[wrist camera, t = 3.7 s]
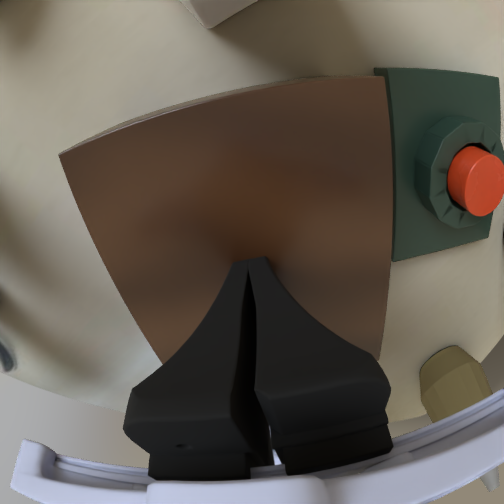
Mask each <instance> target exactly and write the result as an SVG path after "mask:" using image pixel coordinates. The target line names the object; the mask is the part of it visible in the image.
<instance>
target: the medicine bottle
mask: <svg viewBox="0 0 504 504" xmlns="http://www.w3.org/2000/svg"><path fill="white" fill-rule="evenodd" d="M179 1H180V2H181V3H182V4H183V5H184V6H185V7H186V8H187V9H188V10H189V11H190V12H191V13H192V15H193V16H194V17H195V18H196V19H197V20H198V21H199V22H200V23H201V25H202V26H203V27H205V28H209V29H210V28H213V27H215V26H216V25H218V24H219V23H221V22H222V21H224V20H226V19H227V18H229V17H230V16H232V15H234V14H235V13H237V12H239V11H240V10H242V9H244V8H246V7H247V6H249V5H251V4H253V3H254V2H256V1H258V0H179Z"/></svg>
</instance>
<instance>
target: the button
mask: <svg viewBox="0 0 504 504" xmlns="http://www.w3.org/2000/svg"><path fill="white" fill-rule="evenodd" d="M447 184H448V190H449V193H450V195H451V197H452V198H453V199H454V200H455V201H456V202H457V203H458V204H460V205H461V206H462V207H464V208H465V209H466V210H467V211H469V212H470V213H471V214H473V215H475V216H485V215H487V214H489V213H491V212H492V211H493V210H494V209H495V208H496V207H497V206H498V204H499V203H500V201H501V199H502V197H503V194H504V165H503V163H502V162H501V160H500V159H499V158H498V157H496V156H494V155H492V154H490V153H488V152H486V151H484V150H482V149H480V148H478V147H475V146H469V147H466V148H463V149H462V150H460V151H459V152H458V153H457V154H456V156H455V157H454V159H453V160H452V162H451V164H450V167H449V171H448V177H447Z"/></svg>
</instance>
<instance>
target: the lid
mask: <svg viewBox="0 0 504 504" xmlns="http://www.w3.org/2000/svg"><path fill="white" fill-rule="evenodd" d="M59 158H60V161H61V164H62V167H63V169H64V172H65V175H66V178H67V180H68V183H69V185H70V188H71V191H72V193H73V196H74V198H75V201H76V203H77V205H78V208H79V210H80V213H81V215H82V217H83V220H84V222H85V224H86V226H87V229H88V231H89V233H90V235H91V237H92V240H93V242H94V244H95V246H96V248H97V250H98V252H99V254H100V256H101V258H102V260H103V262H104V264H105V266H106V268H107V270H108V272H109V274H110V276H111V278H112V280H113V282H114V284H115V286H116V287H117V289H118V291H119V293H120V295H121V297H122V298H123V300H124V302H125V304H126V306H127V307H128V309H129V311H130V312H131V314H132V316H133V318H134V319H135V321H136V323H137V324H138V326H139V328H140V329H141V331H142V333H143V334H144V336H145V338H146V339H147V341H148V342H149V344H150V346H151V347H152V349H153V350H154V352H155V353H156V355H157V356H158V358H159V359H160V361H161V362H162V364H164V363H165V362H166V361H167V360H169V359H170V358H171V357H172V356H173V355H174V354H175V353H176V352H177V351H178V350H179V348H180V347H181V346H182V345H183V344H184V343H185V342H186V341H187V339H188V338H189V337H190V336H191V335H192V333H193V332H194V331H195V329H196V328H197V327H198V325H199V324H200V323H201V321H202V320H203V318H204V317H205V315H206V314H207V312H208V310H209V309H210V307H211V305H212V304H213V302H214V300H215V298H216V297H217V295H218V293H219V291H220V289H221V287H222V285H223V283H224V281H225V278H226V276H227V274H228V272H229V269H230V267H231V265H232V263H233V262H237V261H242V260H247V259H252V258H257V257H262V256H266V257H267V258H268V260H269V263H270V265H271V267H272V269H273V271H274V272H275V274H276V276H277V277H278V279H279V280H280V281H281V283H282V284H283V285H284V287H285V288H286V289H287V291H288V292H289V293H290V294H291V295H292V296H293V298H294V299H295V300H296V301H297V302H298V303H299V304H300V305H301V306H302V307H303V308H304V309H305V310H306V311H307V312H308V313H309V314H310V315H312V316H313V317H314V318H315V319H316V320H317V321H319V322H320V323H321V324H323V325H324V326H325V327H327V328H328V329H330V330H331V331H332V332H334V333H335V334H336V335H338V336H340V337H341V338H343V339H344V340H346V341H348V342H349V343H351V344H353V345H355V346H357V347H358V348H360V349H362V350H364V351H366V352H368V353H370V354H372V355H373V357H374V358H375V359H376V361H378V360H379V356H380V350H381V344H382V338H383V331H384V324H385V316H386V308H387V299H388V290H389V279H390V266H391V251H392V227H393V173H392V150H391V135H390V122H389V112H388V103H387V94H386V87H385V79H384V77H383V76H368V77H349V78H336V79H325V80H315V81H307V82H299V83H291V84H285V85H278V86H272V87H266V88H260V89H255V90H250V91H245V92H240V93H235V94H231V95H226V96H222V97H218V98H213V99H209V100H205V101H201V102H198V103H194V104H190V105H187V106H183V107H180V108H176V109H173V110H169V111H166V112H163V113H160V114H157V115H154V116H150V117H147V118H145V119H142V120H139V121H136V122H133V123H130V124H127V125H125V126H122V127H119V128H117V129H114V130H112V131H109V132H106V133H104V134H101V135H99V136H97V137H94V138H92V139H89V140H87V141H85V142H83V143H80V144H78V145H76V146H74V147H71V148H69V149H67V150H65V151H63V152H61V153H59Z"/></svg>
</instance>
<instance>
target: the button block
mask: <svg viewBox="0 0 504 504" xmlns="http://www.w3.org/2000/svg"><path fill="white" fill-rule="evenodd" d="M374 73H375V76H383V77H384V79H385V87H386V94H387V103H388V112H389V122H390V135H391V150H392V173H393V227H392V251H391V260H392V261H393V262H396V261H400V260H404V259H408V258H412V257H416V256H420V255H424V254H428V253H432V252H436V251H440V250H444V249H448V248H452V247H455V246H459V245H463V244H467V243H470V242H474V241H478V240H481V239H485V238H488V236H489V231H490V226H491V220H492V215H493V211H492V212H491V213H489V214H487V215H485V216H475V215H473V214H471V213H470V212H469V211H467V210H466V209H465V208H464V207H462V206H461V205H460V204H458V203H457V202H456V201H455V200H454V199H453V198H452V197H451V195H450V193H449V190H448V184H447V177H448V171H449V167H450V164H451V162H452V160H453V159H454V157H455V156H456V154H457V153H458V152H459V151H460V150H462V149H463V148H466V147H469V146H475V147H478V148H480V149H482V150H484V151H486V152H488V153H490V154H492V155H494V156H496V157H498V158H499V159H500V160H501V162H502V163H503V165H504V150H503V146H502V143H501V140H500V131H501V111H500V87H499V78H498V77H493V76H487V75H481V74H474V73H467V72H458V71H449V70H437V69H421V68H374Z"/></svg>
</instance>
